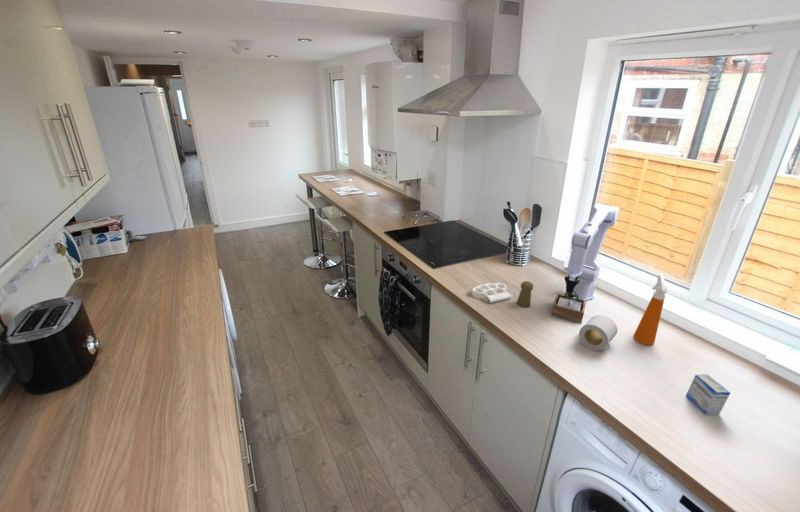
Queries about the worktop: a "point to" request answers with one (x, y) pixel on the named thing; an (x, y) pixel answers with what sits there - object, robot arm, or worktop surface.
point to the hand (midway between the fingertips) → (569, 289)
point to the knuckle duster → (491, 292)
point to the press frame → (568, 310)
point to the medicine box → (707, 394)
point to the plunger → (570, 301)
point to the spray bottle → (652, 314)
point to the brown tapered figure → (525, 295)
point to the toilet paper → (598, 332)
